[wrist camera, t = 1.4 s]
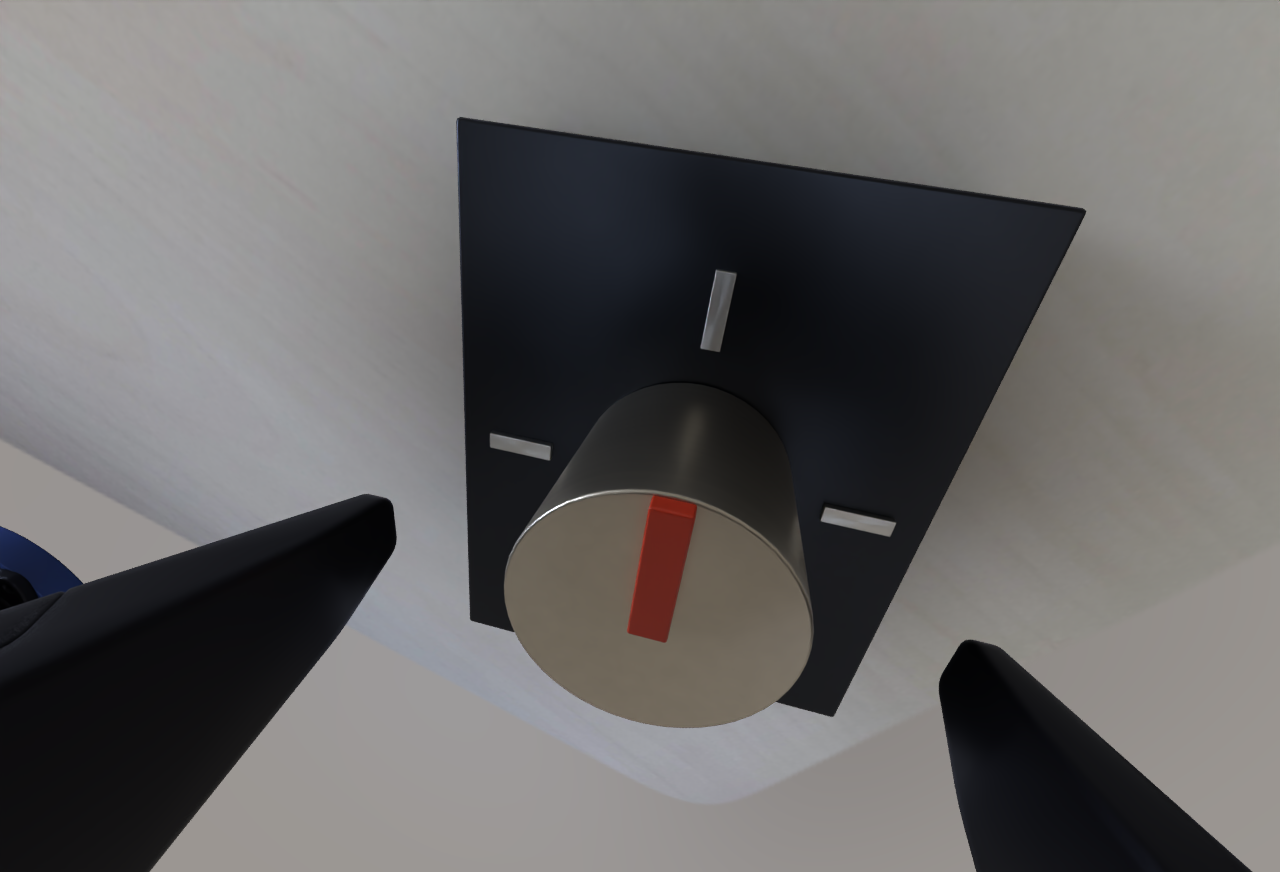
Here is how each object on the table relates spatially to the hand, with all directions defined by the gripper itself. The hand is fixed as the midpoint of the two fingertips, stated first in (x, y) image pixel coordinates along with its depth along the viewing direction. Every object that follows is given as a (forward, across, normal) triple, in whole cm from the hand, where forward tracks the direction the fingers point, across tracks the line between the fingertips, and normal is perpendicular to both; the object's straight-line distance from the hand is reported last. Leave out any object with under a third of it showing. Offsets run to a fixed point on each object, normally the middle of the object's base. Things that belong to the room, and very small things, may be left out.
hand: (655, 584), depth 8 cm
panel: (+6, 0, 0) cm, 6 cm away
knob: (+3, 0, 0) cm, 3 cm away
